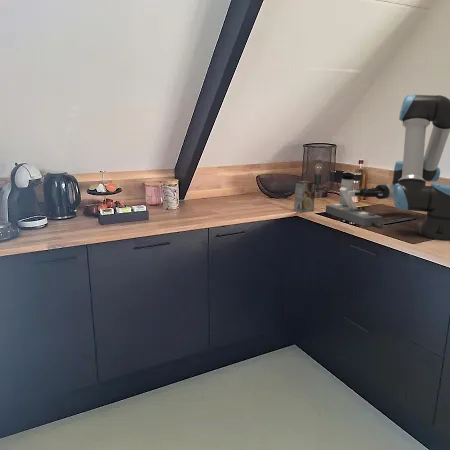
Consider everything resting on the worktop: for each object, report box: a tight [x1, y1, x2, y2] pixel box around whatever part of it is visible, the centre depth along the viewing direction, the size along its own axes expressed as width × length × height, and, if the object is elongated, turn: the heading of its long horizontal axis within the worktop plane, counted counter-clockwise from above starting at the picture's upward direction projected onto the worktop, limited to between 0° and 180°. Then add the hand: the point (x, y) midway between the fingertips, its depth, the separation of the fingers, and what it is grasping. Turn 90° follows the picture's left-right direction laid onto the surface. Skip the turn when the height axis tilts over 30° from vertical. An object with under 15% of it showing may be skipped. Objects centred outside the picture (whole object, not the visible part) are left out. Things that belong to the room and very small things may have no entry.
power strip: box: [325, 203, 384, 229], centre depth 216 cm, size 36×11×5 cm, turn 24°
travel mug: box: [338, 171, 355, 205], centre depth 241 cm, size 6×7×20 cm
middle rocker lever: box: [339, 186, 358, 211], centre depth 215 cm, size 4×2×14 cm
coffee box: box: [293, 180, 316, 213], centre depth 230 cm, size 9×6×16 cm
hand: (348, 193), depth 215 cm, fingers closed
